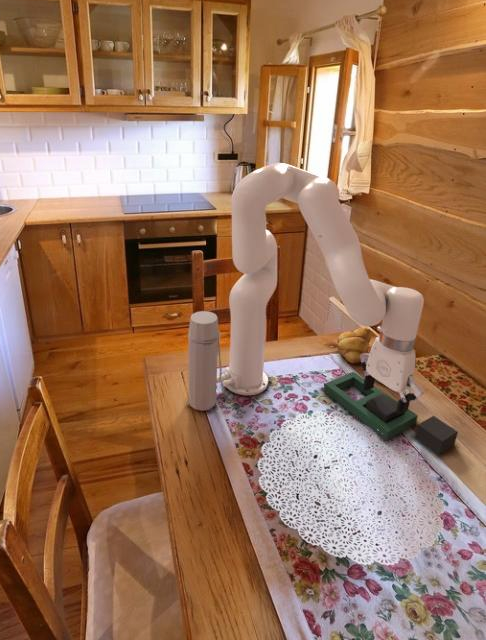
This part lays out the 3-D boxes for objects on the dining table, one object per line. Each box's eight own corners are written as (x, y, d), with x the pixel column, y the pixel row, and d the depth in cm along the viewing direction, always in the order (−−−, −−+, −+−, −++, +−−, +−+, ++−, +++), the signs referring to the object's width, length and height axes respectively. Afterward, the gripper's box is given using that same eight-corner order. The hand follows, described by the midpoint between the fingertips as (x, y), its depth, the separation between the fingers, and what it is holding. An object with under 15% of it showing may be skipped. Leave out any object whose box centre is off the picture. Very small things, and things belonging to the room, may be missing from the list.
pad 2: (438, 455, 91) (442, 441, 89) (414, 438, 96) (417, 424, 94) (454, 445, 94) (458, 431, 92) (430, 428, 98) (433, 415, 97)
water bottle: (197, 417, 100) (198, 328, 92) (182, 399, 106) (182, 314, 98) (228, 404, 105) (231, 318, 97) (212, 387, 111) (214, 305, 103)
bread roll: (365, 369, 121) (369, 346, 118) (331, 361, 125) (335, 338, 122) (369, 348, 132) (373, 326, 129) (338, 341, 136) (341, 320, 133)
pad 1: (384, 429, 98) (386, 415, 97) (364, 414, 103) (366, 401, 101) (399, 420, 101) (402, 407, 100) (379, 406, 106) (382, 393, 104)
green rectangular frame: (386, 440, 95) (388, 432, 94) (323, 391, 111) (324, 383, 110) (416, 423, 100) (418, 415, 99) (352, 378, 116) (353, 371, 116)
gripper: (356, 326, 100) (346, 384, 105) (420, 363, 86) (405, 428, 91) (376, 320, 103) (366, 376, 109) (441, 354, 89) (425, 416, 95)
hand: (384, 399), depth 100 cm, fingers open, 9 cm apart
